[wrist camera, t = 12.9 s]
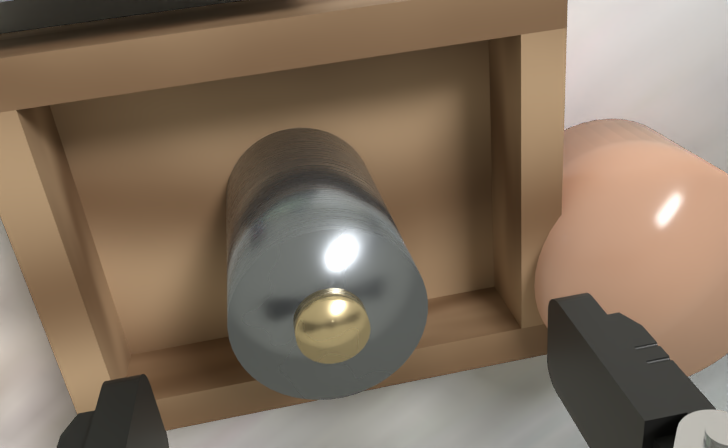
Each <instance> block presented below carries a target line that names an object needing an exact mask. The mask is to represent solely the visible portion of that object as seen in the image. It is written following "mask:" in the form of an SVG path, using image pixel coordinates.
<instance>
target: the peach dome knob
mask: <svg viewBox="0 0 728 448" xmlns="http://www.w3.org/2000/svg"><path fill="white" fill-rule="evenodd" d="M534 288H535V299H536V304H537V308H538V311H539V314H540V316H541V318H542V321H543V322H544V324H545V325H546V327H547V329H548V304H549V301H550V300H551V299H555V298H560V297H566V296H571V295H576V294H582V293H589V294H590V295H591V296H592V297H593V298H594V299H595V300H596V301H597V303H598V304H599V305H600V306H601V307H602V309H603V310H604V311H605V312H606V313H607V314H612V313H618V312H619V313H621V314H623V315H625V316H627V317H628V318H630V319H632V320H634V321H635V322H637V323H639V324H641V325H642V326H643V327H644V328H645V329H646V330H647V331H648V333H649V334H650V335H651V336H652V337H653V338H654V339H655V341H656V342H657V345H658V346H661V347H662V348H663V350H664V351H665V352H666V353H667V354H668V355H669V357H670V360H673V361H674V362H675V363H676V364H677V365H678V367H679V368H680V369H681V370H682V371H683V372H684V373H685V375H686V376H687V377H688V376H691V375H693V374H695V373H697V372H699V371H701V370H703V369H705V368H706V367H708V366H710V365H711V364H713V363H715V362H716V361H718V360H719V359H720V358H722V357H723V356H725V355H726V354H727V353H728V174H727V173H726V172H724V171H722V170H721V169H719V168H717V167H716V166H714V165H712V164H711V163H709V162H707V161H705V160H704V159H702V158H700V157H699V156H697V155H695V154H694V153H692V152H690V151H688V150H687V149H685V148H683V147H682V146H680V145H678V144H677V143H675V142H673V141H672V140H670V139H668V138H666V137H665V136H663V135H661V134H660V133H658V132H656V131H655V130H653V129H651V128H649V127H647V126H645V125H643V124H640V123H637V122H634V121H628V120H623V119H602V120H594V121H590V122H586V123H582V124H579V125H576V126H573V127H571V128H568V129H566V130H564V144H563V180H562V215H561V216H560V217H559V219H558V220H557V222H556V223H555V225H554V226H553V228H552V229H551V231H550V233H549V235H548V237H547V239H546V241H545V243H544V245H543V247H542V250H541V253H540V255H539V258H538V262H537V267H536V271H535V283H534Z"/></svg>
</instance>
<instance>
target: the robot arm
mask: <svg viewBox="0 0 728 448" xmlns="http://www.w3.org/2000/svg"><path fill="white" fill-rule="evenodd" d="M547 364H548V370H549V375H550V378H551V381H552V384H553V387H554V389H555V391H556V393H557V394H558V396H559V397H560V399H561V401H562V402H563V404H564V406H565V407H566V409H567V411H568V412H569V414H570V416H571V417H572V419H573V421H574V422H575V424H576V426H577V427H578V429H579V431H580V432H581V434H582V436H583V437H584V439H585V441H586V442H587V444H588V446H589V447H590V448H728V412H727V411H722V410H716V409H715V407H714V406H713V405H712V404H711V403H710V402H709V401H708V400H707V398H706V397H705V396H704V395H703V394H702V393H701V392H700V390H699V389H698V388H697V387H696V386H695V385H694V384H693V383H692V381H691V380H690V379H689V378H688V377H687V376H686V375H685V373H684V372H683V371H682V370H681V369H680V368H679V367H678V365H677V364H676V363H675V362H674V361H673V360H670V357H669V355H668V354H667V353H666V352H665V351H664V350H663V348H662V347H661V346H658V345H657V342H656V341H655V339H654V338H653V337H652V336H651V335H650V334H649V333H648V331H647V330H646V329H645V328H644V327H643V326H642V325H641V324H639V323H637V322H635V321H634V320H632V319H630V318H628V317H627V316H625V315H623V314H621V313H619V312H618V313H612V314H607V313H606V312H605V311H604V310H603V309H602V307H601V306H600V305H599V304H598V303H597V301H596V300H595V299H594V298H593V297H592V296H591V295H590V294H589V293H582V294H576V295H571V296H566V297H560V298H555V299H551V300H550V301H549V304H548V337H547ZM57 448H169V444H168V438H167V434H166V431H165V428H164V425H163V422H162V419H161V415H160V412H159V409H158V406H157V403H156V400H155V397H154V394H153V391H152V388H151V385H150V382H149V380H148V378H147V376H146V375H145V374H140V375H135V376H130V377H124V378H119V379H114V380H108V381H105V382H103V384H102V387H101V390H100V394H99V397H98V401H97V405H96V408H95V410H94V411H89V412H83V413H78V415H77V416H76V417H75V418H74V420H73V421H72V422H71V423H70V425H69V426H68V427H67V428H66V429H65V431H64V432H63V433H62V434H61V436H60V439H59V442H58V445H57Z"/></svg>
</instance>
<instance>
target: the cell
mask: <svg viewBox="0 0 728 448" xmlns="http://www.w3.org/2000/svg"><path fill="white" fill-rule="evenodd" d="M226 233H227V329H228V335H229V340H230V343H231V346H232V350H233V352H234V354H235V355H236V357H237V359H238V361H239V362H240V364H241V365H242V366H243V368H244V369H245V370H246V371H247V372H248V373H249V374H250V375H251V376H252V377H253V378H254V379H256V380H257V381H258V382H260V383H261V384H263V385H264V386H266V387H268V388H270V389H271V390H274V391H276V392H279V393H281V394H284V395H288V396H291V397H295V398H301V399H311V400H324V399H335V398H341V397H345V396H349V395H353V394H356V393H359V392H362V391H364V390H367V389H369V388H371V387H373V386H375V385H377V384H378V383H380V382H382V381H383V380H385V379H386V378H388V377H389V376H390V375H392V374H393V373H394V372H395V371H397V370H398V369H399V368H400V367H401V366H402V365H403V364H404V363H405V362H406V360H407V359H408V358H409V357H410V355H411V354H412V353H413V351H414V350H415V348H416V347H417V345H418V343H419V341H420V339H421V337H422V334H423V332H424V328H425V325H426V321H427V314H428V298H427V292H426V288H425V285H424V281H423V279H422V277H421V275H420V273H419V271H418V269H417V267H416V265H415V263H414V261H413V259H412V257H411V255H410V253H409V251H408V249H407V247H406V245H405V243H404V241H403V239H402V237H401V235H400V233H399V231H398V229H397V227H396V225H395V223H394V221H393V219H392V217H391V215H390V213H389V211H388V209H387V207H386V205H385V203H384V201H383V199H382V197H381V195H380V193H379V191H378V189H377V187H376V185H375V183H374V181H373V179H372V177H371V175H370V173H369V171H368V169H367V167H366V165H365V163H364V161H363V160H362V158H361V157H360V155H359V154H358V153H357V152H356V150H355V149H354V148H353V147H352V146H350V145H349V144H348V143H347V142H346V141H344V140H343V139H341V138H339V137H338V136H336V135H333V134H331V133H329V132H326V131H322V130H319V129H312V128H291V129H286V130H281V131H278V132H275V133H272V134H270V135H268V136H266V137H264V138H262V139H260V140H259V141H257V142H256V143H254V144H253V145H252V146H251V147H249V148H248V149H247V150H246V151H245V152H244V153H243V155H242V156H241V157H240V158H239V160H238V161H237V163H236V164H235V166H234V168H233V170H232V172H231V174H230V177H229V180H228V184H227V191H226Z"/></svg>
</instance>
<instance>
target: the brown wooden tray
mask: <svg viewBox="0 0 728 448" xmlns="http://www.w3.org/2000/svg"><path fill="white" fill-rule="evenodd" d="M567 2H568V0H243V1H235V2H228V3H221V4H214V5H206V6H199V7H192V8H185V9H177V10H170V11H163V12H156V13H148V14H141V15H134V16H127V17H119V18H112V19H105V20H98V21H90V22H83V23H76V24H69V25H61V26H54V27H47V28H40V29H32V30H25V31H18V32H11V33H3V34H0V217H1V219H2V222H3V225H4V227H5V230H6V232H7V235H8V237H9V240H10V243H11V245H12V248H13V250H14V253H15V255H16V258H17V261H18V263H19V266H20V268H21V271H22V273H23V276H24V279H25V281H26V284H27V286H28V289H29V291H30V294H31V296H32V299H33V302H34V304H35V307H36V309H37V312H38V314H39V317H40V320H41V322H42V325H43V327H44V330H45V332H46V335H47V338H48V340H49V343H50V345H51V348H52V350H53V353H54V356H55V358H56V361H57V363H58V366H59V368H60V371H61V374H62V376H63V379H64V381H65V384H66V386H67V389H68V392H69V394H70V397H71V399H72V402H73V404H74V407H75V409H76V412H77V415H78V413H83V412H89V411H94V410H95V408H96V405H97V401H98V397H99V394H100V390H101V387H102V384H103V382H105V381H108V380H114V379H119V378H124V377H130V376H135V375H140V374H145V375H146V376H147V378H148V380H149V382H150V385H151V388H152V391H153V394H154V397H155V400H156V403H157V406H158V409H159V412H160V415H161V419H162V422H163V425H164V428H165V431H166V430H171V429H176V428H181V427H186V426H191V425H196V424H201V423H206V422H211V421H216V420H221V419H226V418H231V417H236V416H241V415H246V414H251V413H256V412H261V411H266V410H271V409H276V408H281V407H286V406H291V405H296V404H301V403H306V402H311V401H316V400H311V399H301V398H295V397H291V396H288V395H284V394H281V393H279V392H276V391H274V390H271V389H270V388H268V387H266V386H264V385H263V384H261V383H260V382H258V381H257V380H256V379H254V378H253V377H252V376H251V375H250V374H249V373H248V372H247V371H246V370H245V369H244V368H243V366H242V365H241V364H240V362H239V361H238V359H237V357H236V355H235V354H234V352H233V350H232V346H231V343H230V340H229V335H228V329H227V233H226V191H227V184H228V180H229V177H230V174H231V172H232V170H233V168H234V166H235V164H236V163H237V161H238V160H239V158H240V157H241V156H242V155H243V153H244V152H245V151H246V150H247V149H248V148H249V147H251V146H252V145H253V144H254V143H256V142H257V141H259V140H260V139H262V138H264V137H266V136H268V135H270V134H272V133H275V132H278V131H281V130H286V129H291V128H312V129H319V130H322V131H326V132H329V133H331V134H333V135H336V136H338V137H339V138H341V139H343V140H344V141H346V142H347V143H348V144H349V145H350V146H352V147H353V148H354V149H355V150H356V152H357V153H358V154H359V155H360V157H361V158H362V160H363V161H364V163H365V165H366V167H367V169H368V171H369V173H370V175H371V177H372V179H373V181H374V183H375V185H376V187H377V189H378V191H379V193H380V195H381V197H382V199H383V201H384V203H385V205H386V207H387V209H388V211H389V213H390V215H391V217H392V219H393V221H394V223H395V225H396V227H397V229H398V231H399V233H400V235H401V237H402V239H403V241H404V243H405V245H406V247H407V249H408V251H409V253H410V255H411V257H412V259H413V261H414V263H415V265H416V267H417V269H418V271H419V273H420V275H421V277H422V279H423V281H424V285H425V288H426V292H427V298H428V314H427V321H426V325H425V328H424V332H423V334H422V337H421V339H420V341H419V343H418V345H417V347H416V348H415V350H414V351H413V353H412V354H411V355H410V357H409V358H408V359H407V360H406V362H405V363H404V364H403V365H402V366H401V367H400V368H399V369H398V370H397V371H395V372H394V373H393V374H392V375H390V376H389V377H388V378H386V379H385V380H383V381H382V382H380V383H378V384H377V385H375V386H373V387H371V388H369V389H367V390H371V389H376V388H381V387H386V386H391V385H396V384H401V383H406V382H411V381H416V380H421V379H426V378H431V377H436V376H441V375H446V374H451V373H456V372H461V371H466V370H471V369H476V368H481V367H486V366H491V365H496V364H501V363H506V362H511V361H516V360H521V359H526V358H531V357H536V356H541V355H546V354H547V337H548V329H547V327H546V325H545V324H544V322H543V321H542V318H541V316H540V314H539V311H538V308H537V304H536V299H535V288H534V283H535V271H536V267H537V262H538V258H539V255H540V253H541V250H542V247H543V245H544V243H545V241H546V239H547V237H548V235H549V233H550V231H551V229H552V228H553V226H554V225H555V223H556V222H557V220H558V219H559V217H560V216H561V215H562V180H563V144H564V109H565V73H566V37H567ZM364 391H366V390H364Z"/></svg>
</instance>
